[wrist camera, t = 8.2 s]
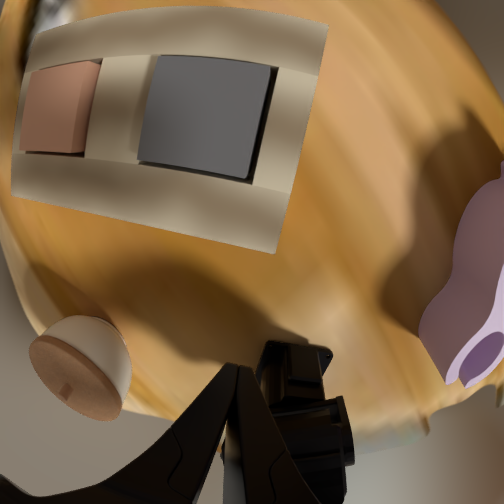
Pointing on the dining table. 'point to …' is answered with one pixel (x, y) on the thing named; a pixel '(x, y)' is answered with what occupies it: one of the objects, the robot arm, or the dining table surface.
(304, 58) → the button console
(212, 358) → the dining table surface
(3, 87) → the dining table surface
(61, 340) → the lidded jar
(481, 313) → the mauve piece
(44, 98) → the terracotta button
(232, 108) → the charcoal button
